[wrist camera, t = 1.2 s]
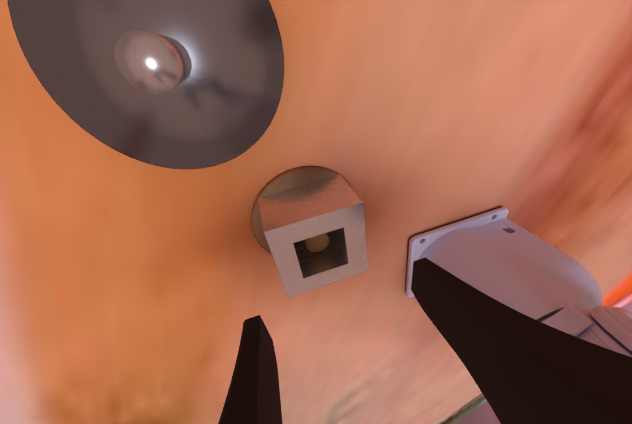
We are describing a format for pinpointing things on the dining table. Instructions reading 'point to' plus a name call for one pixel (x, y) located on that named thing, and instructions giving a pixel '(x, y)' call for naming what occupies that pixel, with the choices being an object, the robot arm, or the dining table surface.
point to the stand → (284, 183)
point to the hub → (159, 72)
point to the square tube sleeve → (315, 233)
